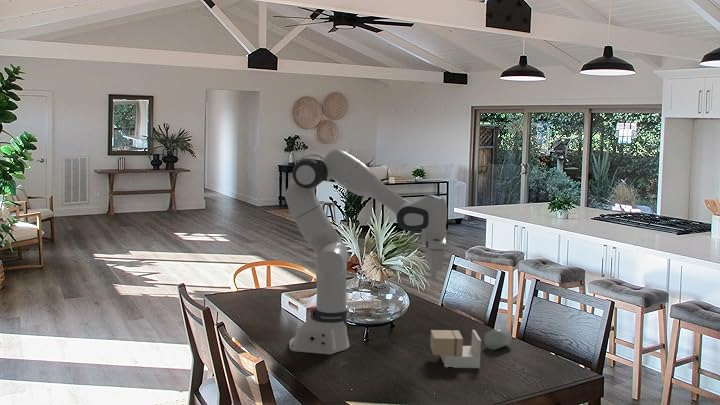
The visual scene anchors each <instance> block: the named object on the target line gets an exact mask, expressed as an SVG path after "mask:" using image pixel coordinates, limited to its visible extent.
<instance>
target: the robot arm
mask: <svg viewBox="0 0 720 405" xmlns="http://www.w3.org/2000/svg"><path fill="white" fill-rule="evenodd" d="M292 179H293V181H294V183H293V184H291V185H289V186H288V187H287V188H286V190H285V191H284V198H285V199H284V200H285V203H286V205H287V208H288V210H289V212H290V215H291V216H292V218H293V220H294V222H295V224H296V225H297V227H298V229H299V231H300V233H301V234H302V237H303V238H304V240H306V241H307V243H308V244H309V246H310V247H311V248H312V250H313V251H314V253H315V254H316V257H315V277H316V279H315V281H316V282H315V283H316V304H315V305H316V306H313V305H312V306H311V307H310V309H309V312H310V318H309V319H307V320H306V321H304V322H303V323H302V324H300V325H299V326H298V328H297V329H296V332H295V336H294V337H292V338H291V339H290V340H289V343H288V348H289V350H290V351H292V352H300V353H308V354H309V353H311V354H321V355H333V354H335V353H338V352H342V351H345V350H348V348H350V346H351V345H350V341H349V337H348V330H347V323H348V313H349V312H348V308H347V293H348V292H347V289H348V288H347V287H348V286H347V271H348V270H347V267H348V266H347V265H348V256H349V252H348V248H347V246H346V245H345V243H344V242H343V240H342V238H341V237H340V235H339V233H338V231H337V230H336V229H335V226H333V224H332V222H331V221H330V220H329V218H328V216H327V213H326V212H325V210H324V208H323V207H322V205H321V203H320V201H319V199H318V197H317V195H316V191H315V189H316V187H317V186H319V185H320V184H321V183H322V182H324V181H325V180H327V179H330V180H332V181H335V182H336V183H337V184H339V186H340V185H341V186H342V187H343V188H344V189H345V190H347V191H349V192H351V193H352V194H354V195H357V196H359V197H367V198H368V197H369V198H371V199H374V200H376V201H377V202H379V203H381V205H383V206H384V207H386V208H387V209H388V210H390V211H392V212H393V213H394V215H395V216H396V224H397V225H398V227H399V228H401V230H404V231H406V232H414V231H415V232H416V231H419V230H420V231H421V245H422V246H423V247H424V259H425V261H426V263H427V264H428V267H429V277H430V278H431V279H432V280H434V279H435V280H436V278H437V273H438V272H442V271H443V268H444V262H445V261H444V260H445V250H447V236H448V234H447V221H448V206H447V201H446V200H445V199H444V197H441V196H439V195H434V194H425V195H424V196H422V197H421V198H420V199H417V200H414V199H409V198H405V197H403V196H401V195H400V194H399V193H397V192H395V191H394V190H393V189H391V188H390V187H388V186H387V185H386V184H385V183H383V182H382V180H381V179H380V178H379V177H378V176H377V175H376V174H375V173H374V172H373V170H372V169H371V168H369V167H368V166H367V165H366V164H365V163H364V162H362V161H361V160H359V159H358V158H357V157H355V156H353V155H352V154H350V153H348V152H347V151H344V150H342V149H340V148H335V149H332V150H331V151H329V152H328V153H327V154H326V156H325V157H322V156H320V155H317V154H308V155H305V156H303V157H302V158H300V159H299V160H298V161H297V162H296V163H294V166H293V168H292Z"/></svg>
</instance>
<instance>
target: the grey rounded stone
mask: <svg viewBox="0 0 720 405" xmlns="http://www.w3.org/2000/svg"><path fill="white" fill-rule="evenodd" d="M512 337H513V336H512V333H511V331H510V329H508V328H507V327H506V326H505V327H504V326H500V327H497V328H494V329H492V330H489V331H486V333H485V334H484V337H483V341H484V344H485V346H486V347H487V349H489V350H491V349H492V350H491V351H496V350H499V349H501V348H504V347H506V346H508V345H510V344H511V343H512V340H513V338H512Z"/></svg>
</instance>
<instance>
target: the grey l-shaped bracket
mask: <svg viewBox="0 0 720 405" xmlns="http://www.w3.org/2000/svg"><path fill="white" fill-rule="evenodd" d="M481 349H482V339H481V338H480V336H479V335H478V332H477V331H476V329H472V330H471V344H470V345H463V353H462V356H460V355H456V356H454V355H440V358H441V361H442V364H443V363H444V364H443V366H444V368H445V369H446V367H447V369H448V367H453V368H454V369H455V368H457V369H460V368H461V369H480V368H481V353H482V352H481ZM453 368H452V369H453Z"/></svg>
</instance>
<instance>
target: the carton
mask: <svg viewBox="0 0 720 405" xmlns="http://www.w3.org/2000/svg"><path fill="white" fill-rule="evenodd" d="M429 344H430V345H429V346H430V349H431V352H432V355H433V356H441V355H454V356H456V355H460V356H462V353H463V346H464V338H463V336H462V334H461V332H460V330H459V329H458V330H457V329H456V330H453V329H451V330H449V329H448V330H447V329H444V330H443V329H430V341H429Z"/></svg>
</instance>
